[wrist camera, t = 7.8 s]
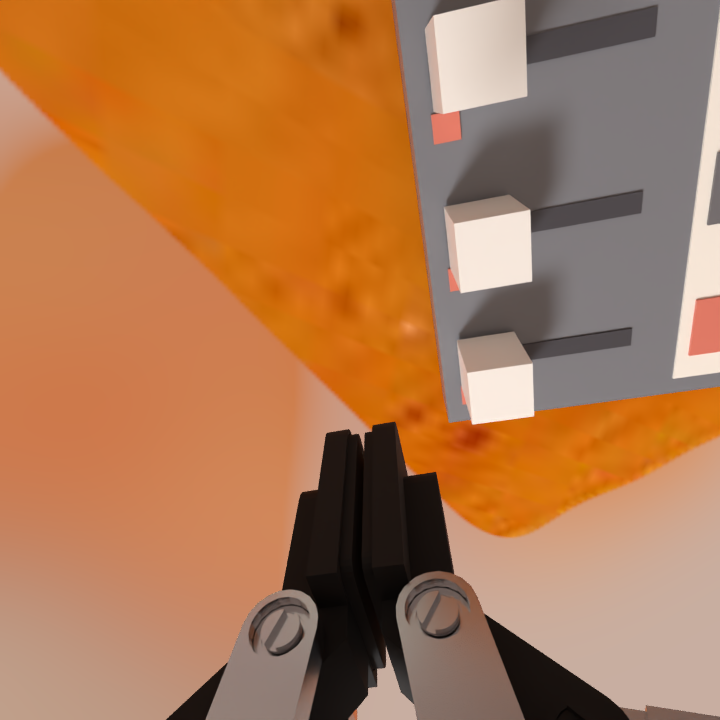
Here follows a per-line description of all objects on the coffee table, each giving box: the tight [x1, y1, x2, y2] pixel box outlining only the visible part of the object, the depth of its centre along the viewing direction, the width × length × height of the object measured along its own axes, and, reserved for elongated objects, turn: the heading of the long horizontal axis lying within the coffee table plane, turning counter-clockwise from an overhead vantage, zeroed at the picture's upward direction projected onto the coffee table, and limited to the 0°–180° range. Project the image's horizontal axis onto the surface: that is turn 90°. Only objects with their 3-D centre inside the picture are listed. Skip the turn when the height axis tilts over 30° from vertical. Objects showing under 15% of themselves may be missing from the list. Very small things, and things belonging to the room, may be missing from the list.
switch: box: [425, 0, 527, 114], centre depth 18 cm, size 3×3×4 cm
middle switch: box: [444, 195, 532, 293], centre depth 21 cm, size 3×3×4 cm
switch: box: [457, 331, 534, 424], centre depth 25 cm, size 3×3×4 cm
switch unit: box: [392, 0, 720, 423], centre depth 24 cm, size 16×22×3 cm
